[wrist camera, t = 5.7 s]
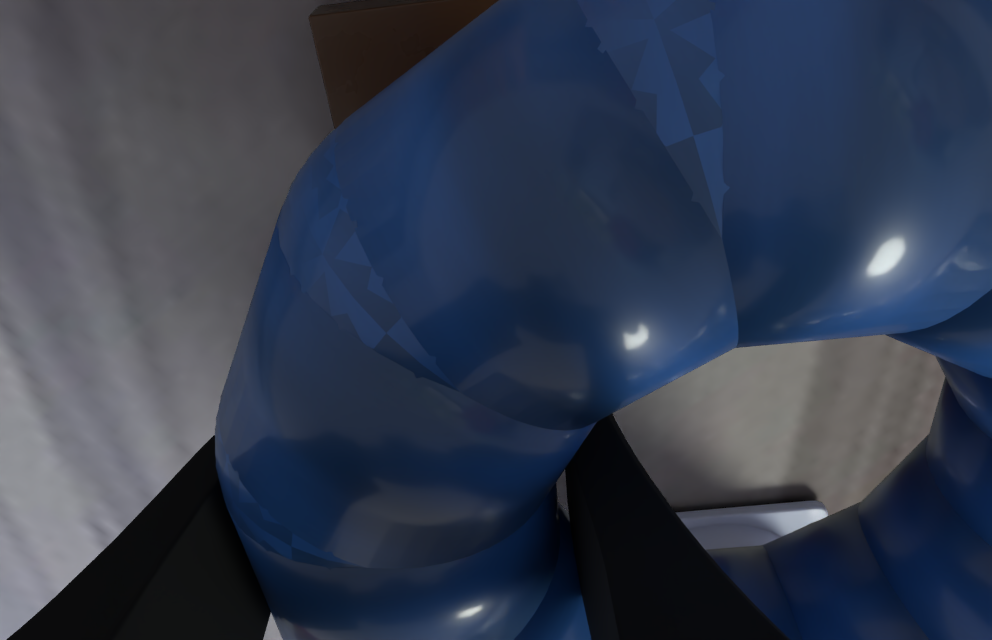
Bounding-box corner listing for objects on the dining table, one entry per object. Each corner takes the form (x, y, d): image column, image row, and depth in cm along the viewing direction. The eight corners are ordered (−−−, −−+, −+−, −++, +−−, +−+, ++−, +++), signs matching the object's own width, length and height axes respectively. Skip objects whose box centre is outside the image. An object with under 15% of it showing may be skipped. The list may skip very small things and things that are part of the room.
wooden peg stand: (722, 317, 23) (810, 493, 16) (395, 350, 23) (364, 533, 17) (746, -47, 17) (888, 16, 11) (317, 5, 18) (231, 94, 12)
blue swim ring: (1033, 616, 16) (1198, 850, 12) (369, 664, 17) (337, 900, 13) (1409, -195, 8) (2160, -220, 5) (136, -47, 9) (-111, 38, 5)
